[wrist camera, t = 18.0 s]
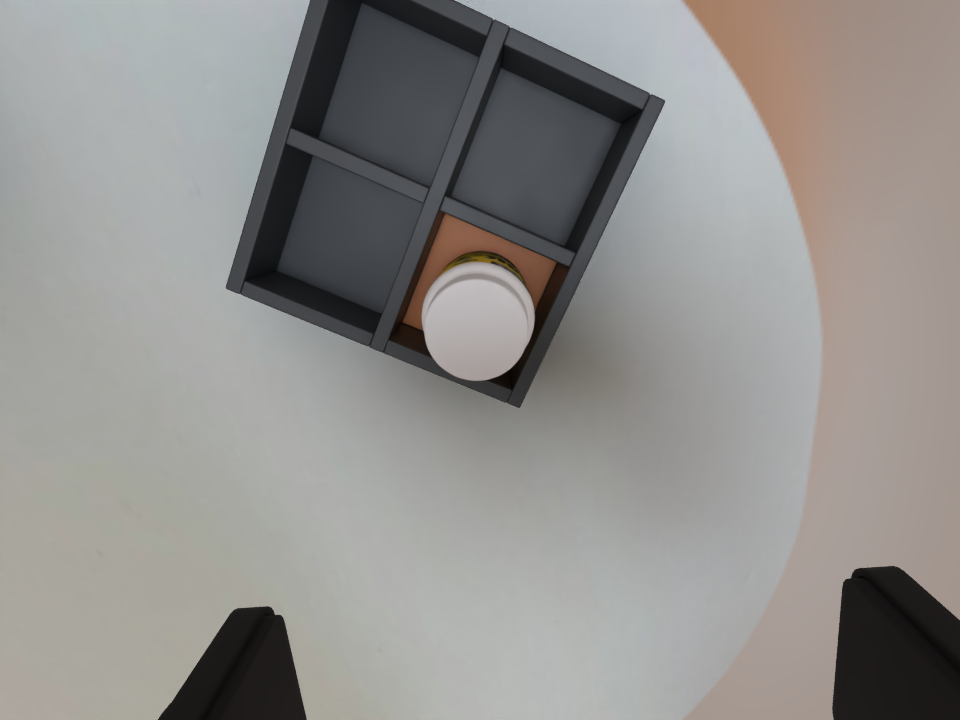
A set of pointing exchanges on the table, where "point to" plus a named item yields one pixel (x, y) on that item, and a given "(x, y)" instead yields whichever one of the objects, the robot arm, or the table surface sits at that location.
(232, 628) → the robot arm
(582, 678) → the table surface
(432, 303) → the supplement bottle
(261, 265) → the box
